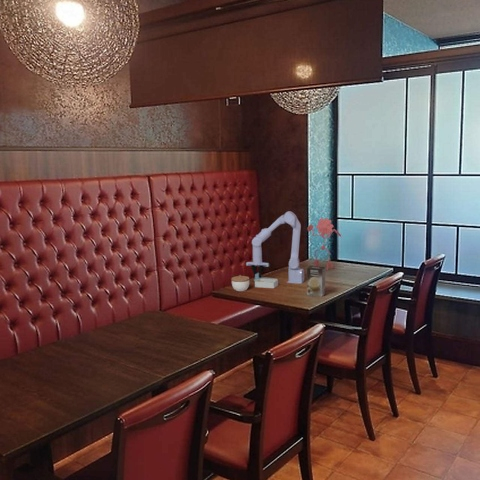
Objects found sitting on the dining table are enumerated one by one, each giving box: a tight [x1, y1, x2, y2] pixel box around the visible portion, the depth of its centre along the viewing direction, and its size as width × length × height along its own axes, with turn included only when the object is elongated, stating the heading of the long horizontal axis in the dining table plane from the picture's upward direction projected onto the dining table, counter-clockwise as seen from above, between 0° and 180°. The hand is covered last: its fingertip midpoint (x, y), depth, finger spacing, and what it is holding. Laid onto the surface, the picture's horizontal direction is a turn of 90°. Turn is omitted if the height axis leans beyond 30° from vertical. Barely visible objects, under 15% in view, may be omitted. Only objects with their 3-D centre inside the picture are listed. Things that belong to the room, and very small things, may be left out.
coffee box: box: [306, 265, 326, 298], centre depth 297 cm, size 9×6×16 cm
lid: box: [253, 272, 277, 282], centre depth 329 cm, size 13×9×4 cm
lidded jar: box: [230, 274, 250, 292], centre depth 312 cm, size 11×11×9 cm
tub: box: [254, 278, 279, 289], centre depth 319 cm, size 12×8×4 cm, turn 67°
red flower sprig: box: [307, 217, 342, 271], centre depth 361 cm, size 15×26×35 cm, turn 54°
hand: (258, 277), depth 331 cm, fingers closed on lid, 2 cm apart
